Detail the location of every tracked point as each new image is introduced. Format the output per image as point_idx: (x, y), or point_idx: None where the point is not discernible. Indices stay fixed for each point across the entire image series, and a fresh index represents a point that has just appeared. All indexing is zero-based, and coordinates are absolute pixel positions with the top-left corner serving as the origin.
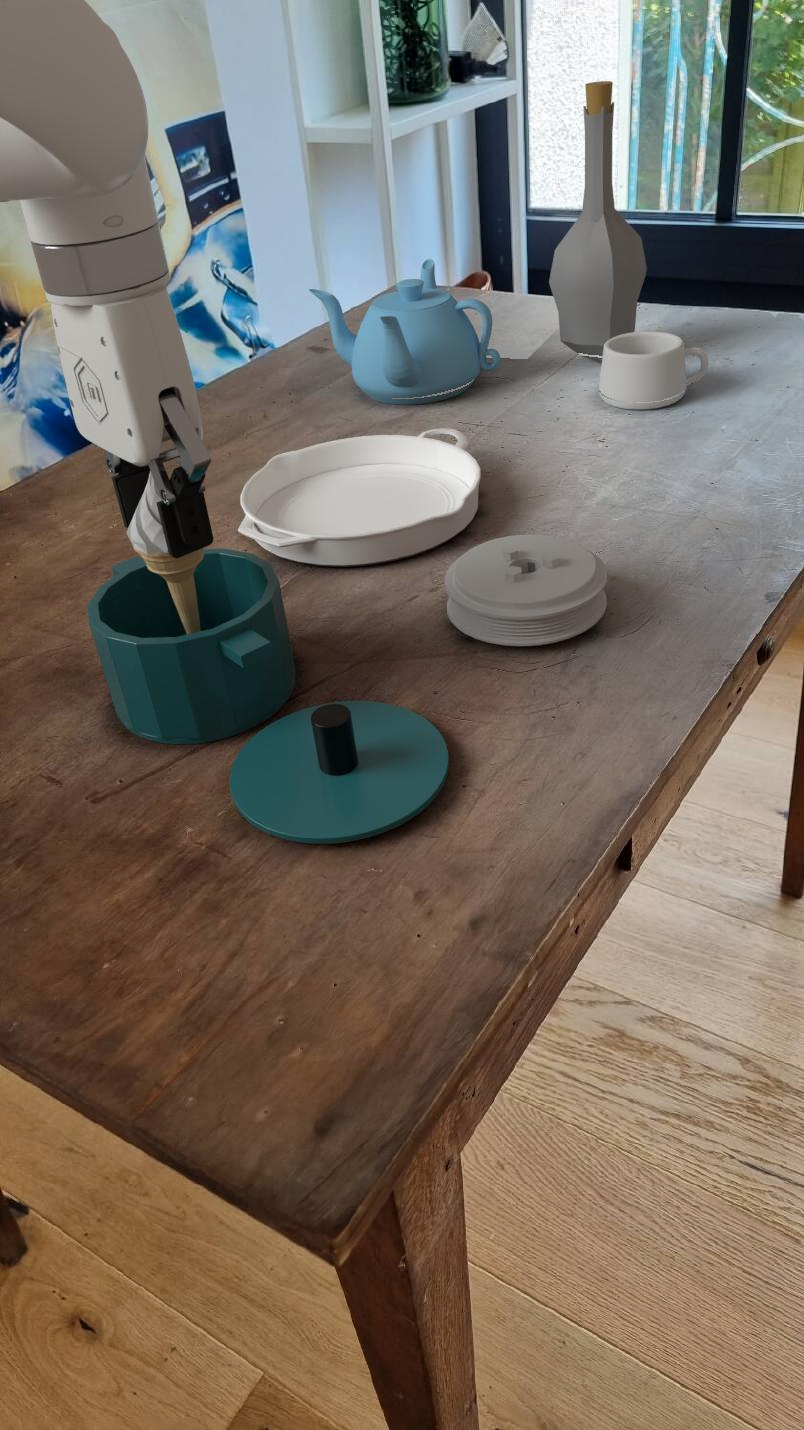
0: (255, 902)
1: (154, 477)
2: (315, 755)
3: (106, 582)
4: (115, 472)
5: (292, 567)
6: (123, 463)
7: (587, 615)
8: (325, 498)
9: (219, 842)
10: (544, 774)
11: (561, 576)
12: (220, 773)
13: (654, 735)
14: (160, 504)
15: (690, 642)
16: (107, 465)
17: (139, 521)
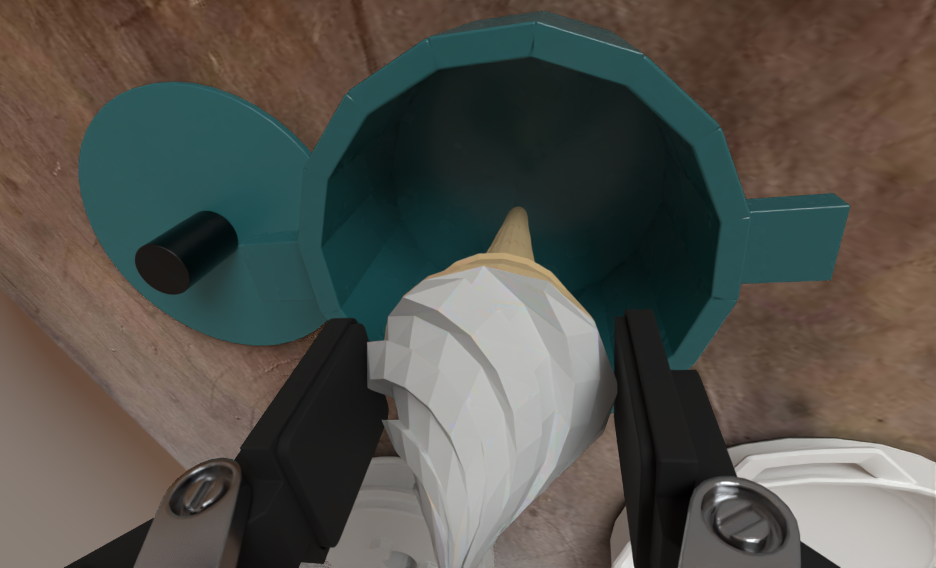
0: (26, 19)
1: (207, 561)
2: (243, 221)
3: (724, 153)
4: (696, 493)
5: (749, 431)
6: (679, 557)
7: None
8: (878, 555)
9: (152, 29)
10: (158, 365)
11: (355, 564)
12: (303, 102)
13: (179, 447)
14: (243, 450)
15: None
16: (781, 514)
17: (471, 350)
